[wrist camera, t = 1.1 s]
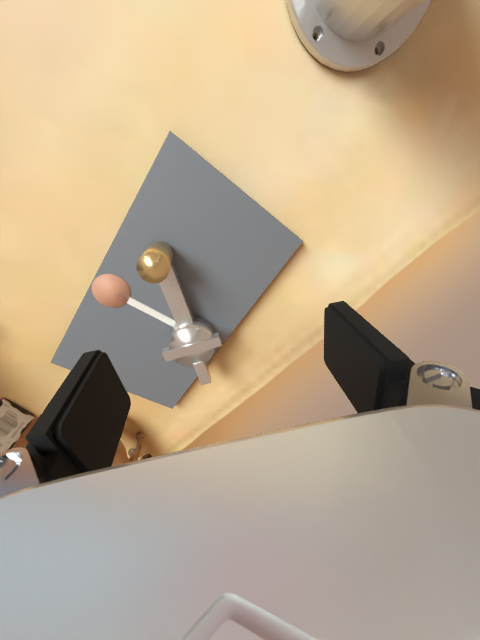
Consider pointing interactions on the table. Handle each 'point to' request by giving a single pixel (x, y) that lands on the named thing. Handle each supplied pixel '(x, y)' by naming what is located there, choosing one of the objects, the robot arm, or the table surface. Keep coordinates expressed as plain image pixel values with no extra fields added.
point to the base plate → (191, 266)
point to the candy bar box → (12, 424)
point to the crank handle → (179, 313)
